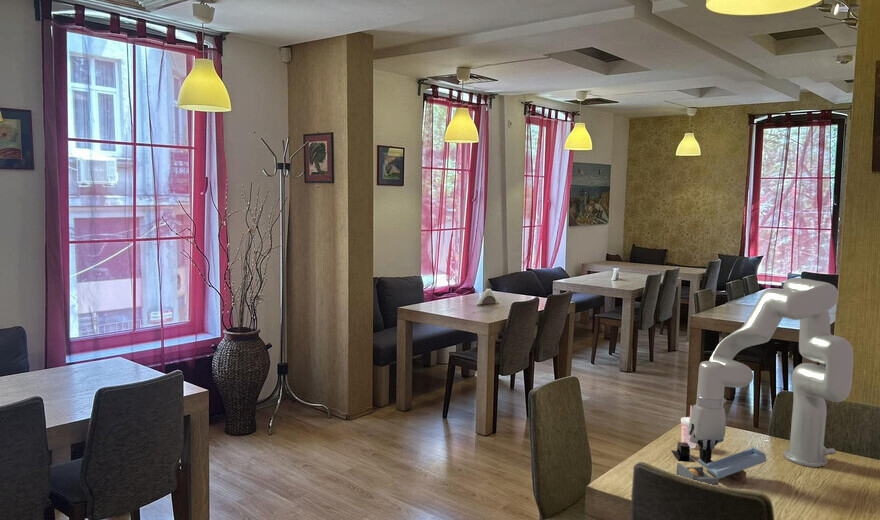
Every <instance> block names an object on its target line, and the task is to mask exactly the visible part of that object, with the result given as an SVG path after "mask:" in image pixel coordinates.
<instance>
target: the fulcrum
mask: <svg viewBox="0 0 880 520" xmlns="http://www.w3.org/2000/svg"><path fill="white" fill-rule="evenodd" d="M723 479H726V481H728V482H729V483H731V484H732V485H734V486H735V485H736V486H737V485H751V484H753V481H752V480H750V479H749V478H747V471H746V470H741V471H739V472H736V473H733V474H730V475H728V476H725V477H723Z"/></svg>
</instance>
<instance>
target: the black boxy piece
mask: <svg viewBox="0 0 880 520" xmlns="http://www.w3.org/2000/svg"><path fill="white" fill-rule="evenodd" d="M670 451H671V453H672V454H673V456H674V457H675V459H676V460H677V461H678V462H683V463H696V460H695V459H694V458H693V456H692V455H691V448H690V446H689V445H688V443H686V442H681V441H677V445H676V450H675V449H673V450H670Z"/></svg>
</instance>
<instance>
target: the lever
mask: <svg viewBox="0 0 880 520" xmlns="http://www.w3.org/2000/svg"><path fill="white" fill-rule="evenodd" d="M697 463H698V464H699V465H701V467H703V468H706V469H707V472H709V473H710V474H712V475H713V476H715V477H718V478H719V479H723V478H724V477H725V476H728V475H730V474H733V473H736V472H739V471H741V470H743V471H745V470H747V469H750V468H752V467H755V466H758V465H760V464H764V463H767V455H766V453H765V452H764V451H762V450H760V449H759V448H756V447H755V446H751V448H748V449H745V450H742V451H740V452H737V453H734V454H732V455H729V456H725V457H723V458H720V459H717V460H715V461H714V460H712V459H711V462H704V461H702V460H701V459H700V458H699V459H698V460H697Z"/></svg>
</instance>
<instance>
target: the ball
mask: <svg viewBox="0 0 880 520" xmlns="http://www.w3.org/2000/svg"><path fill="white" fill-rule="evenodd" d="M689 470H690V471H691V472H693V473H694V474H695V475H696V476H695V478H697V477H698V472H697V471H696V470H695V469H689Z"/></svg>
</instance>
